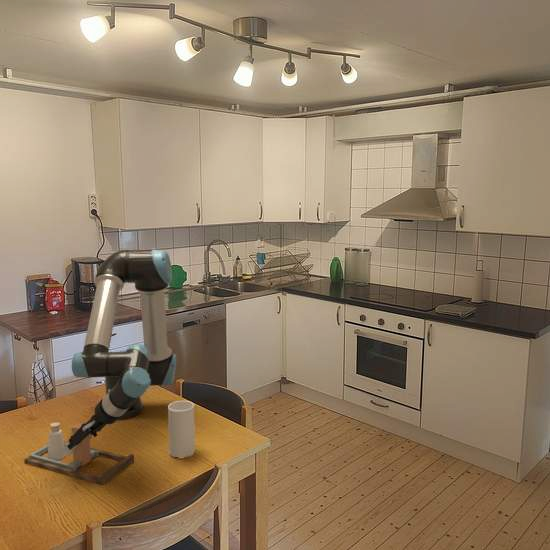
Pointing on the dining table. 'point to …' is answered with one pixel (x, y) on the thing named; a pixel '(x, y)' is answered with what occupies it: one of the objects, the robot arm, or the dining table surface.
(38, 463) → the track
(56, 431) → the salt shaker
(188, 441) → the cup
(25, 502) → the dining table surface
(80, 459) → the frame
